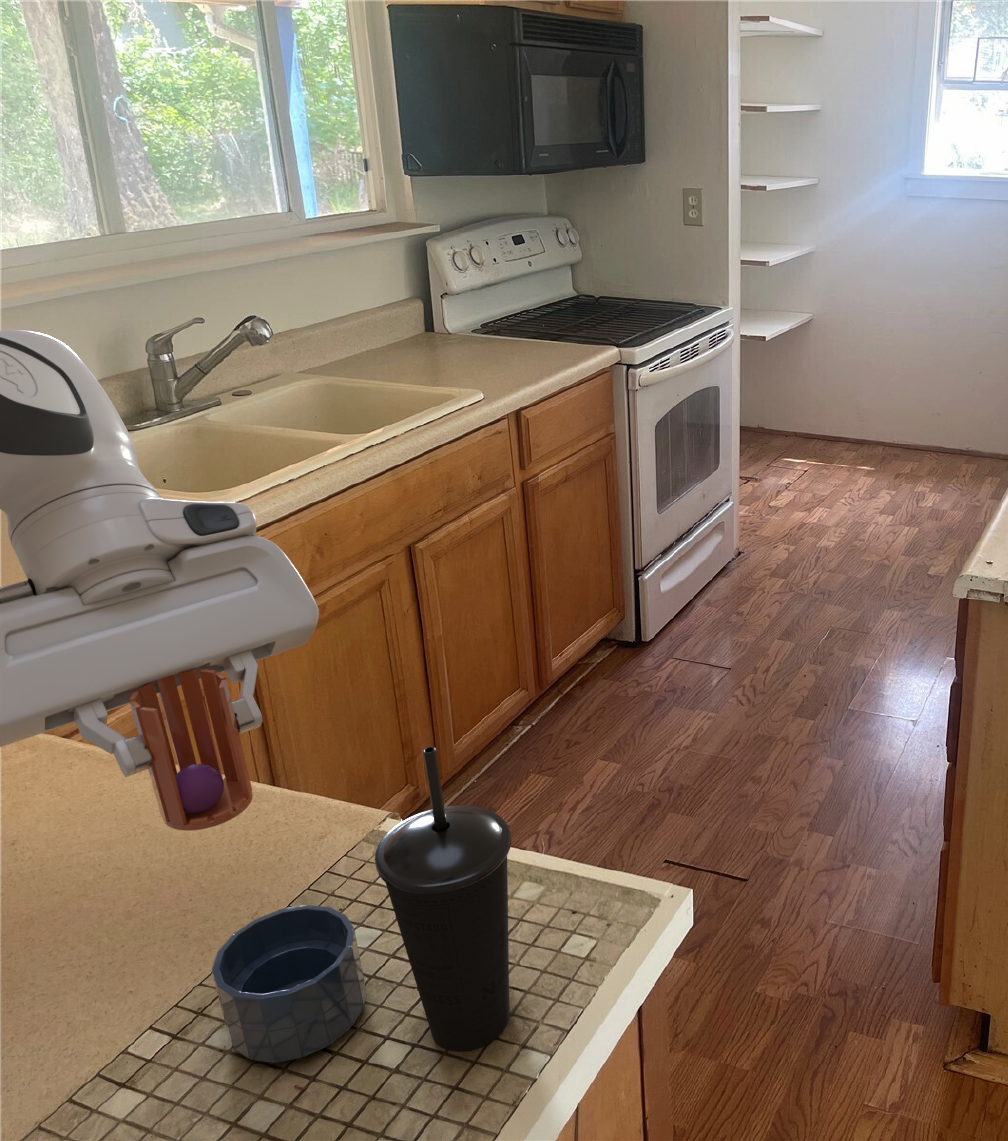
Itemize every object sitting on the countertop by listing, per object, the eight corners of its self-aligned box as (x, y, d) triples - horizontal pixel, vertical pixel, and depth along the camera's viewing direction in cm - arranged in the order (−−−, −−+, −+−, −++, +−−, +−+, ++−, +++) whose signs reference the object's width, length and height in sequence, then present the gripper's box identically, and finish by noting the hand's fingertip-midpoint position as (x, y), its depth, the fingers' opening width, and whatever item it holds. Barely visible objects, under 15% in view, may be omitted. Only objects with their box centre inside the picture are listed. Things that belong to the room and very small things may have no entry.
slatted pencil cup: (150, 806, 68) (118, 690, 65) (234, 773, 72) (207, 661, 68) (180, 841, 65) (147, 720, 62) (266, 805, 68) (239, 688, 65)
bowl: (218, 1080, 63) (199, 1009, 61) (244, 983, 70) (227, 917, 68) (360, 1053, 65) (346, 983, 63) (371, 961, 72) (359, 896, 70)
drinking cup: (401, 1081, 63) (347, 797, 55) (412, 987, 70) (366, 723, 62) (533, 1059, 65) (498, 779, 57) (531, 968, 71) (500, 708, 64)
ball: (187, 829, 67) (167, 809, 64) (175, 791, 68) (156, 769, 66) (236, 806, 68) (219, 786, 65) (224, 769, 69) (206, 747, 67)
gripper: (-95, 586, 59) (0, 804, 57) (272, 498, 73) (362, 671, 70) (-86, 634, 64) (2, 837, 61) (258, 543, 77) (342, 707, 75)
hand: (197, 748), depth 66 cm, fingers closed on slatted pencil cup, 5 cm apart
